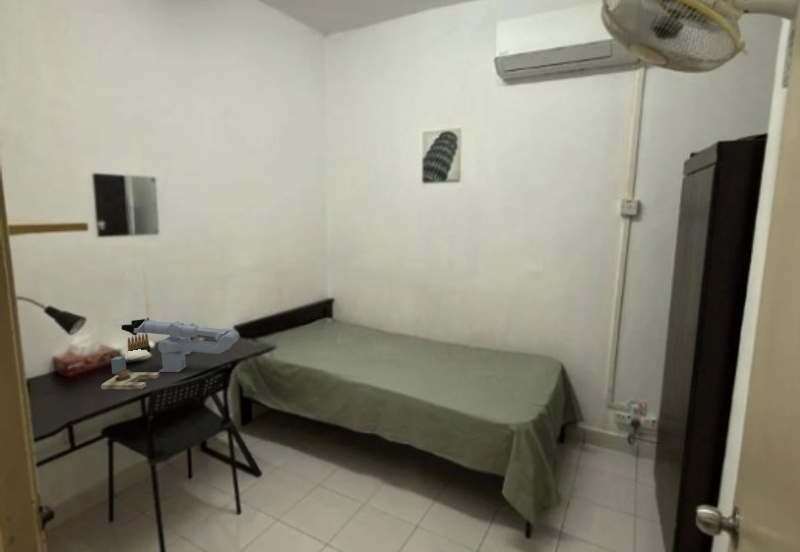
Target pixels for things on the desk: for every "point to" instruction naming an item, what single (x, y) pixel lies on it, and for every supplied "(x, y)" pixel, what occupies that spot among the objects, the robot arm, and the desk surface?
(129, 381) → the notched board
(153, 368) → the desk surface
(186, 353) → the skincare box
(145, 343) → the ammunition clip
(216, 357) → the desk surface
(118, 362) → the tab peg
